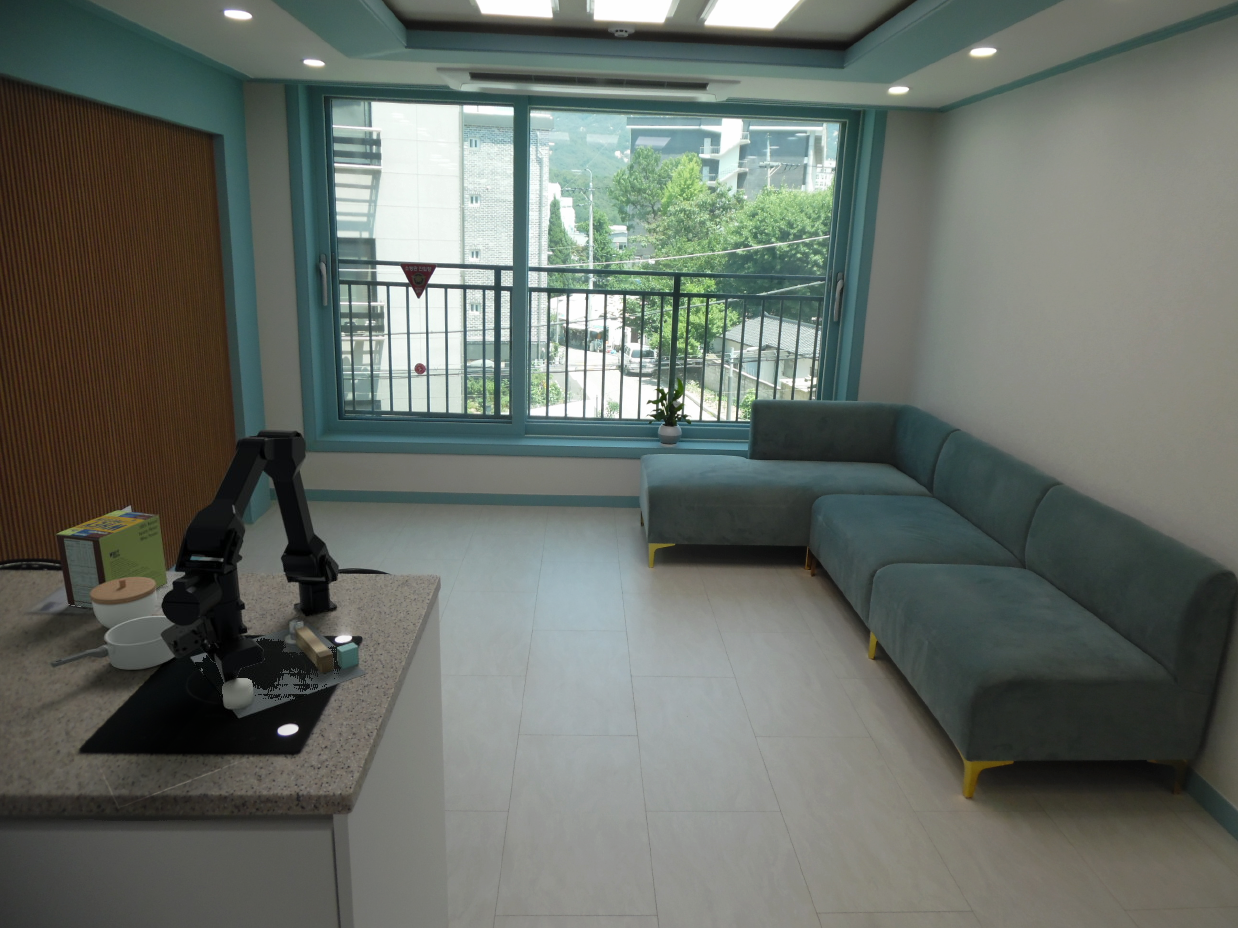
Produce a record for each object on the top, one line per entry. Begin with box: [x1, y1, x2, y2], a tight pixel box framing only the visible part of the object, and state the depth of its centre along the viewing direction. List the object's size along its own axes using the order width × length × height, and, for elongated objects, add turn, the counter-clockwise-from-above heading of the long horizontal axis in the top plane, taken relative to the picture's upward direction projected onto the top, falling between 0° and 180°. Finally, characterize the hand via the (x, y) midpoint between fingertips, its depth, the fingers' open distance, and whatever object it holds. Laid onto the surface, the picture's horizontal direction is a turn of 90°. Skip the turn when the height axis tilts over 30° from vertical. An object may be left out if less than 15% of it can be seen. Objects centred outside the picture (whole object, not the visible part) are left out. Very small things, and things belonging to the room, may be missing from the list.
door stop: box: [222, 678, 254, 710], centre depth 130 cm, size 4×4×3 cm
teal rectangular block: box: [336, 641, 360, 669], centre depth 142 cm, size 2×3×4 cm, turn 132°
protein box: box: [55, 509, 168, 610], centre depth 167 cm, size 10×15×16 cm
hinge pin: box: [285, 618, 304, 644], centre depth 151 cm, size 4×4×4 cm
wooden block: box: [295, 626, 334, 673], centre depth 144 cm, size 13×2×3 cm, turn 39°
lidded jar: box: [90, 577, 158, 630], centre depth 154 cm, size 11×11×9 cm
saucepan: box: [50, 615, 175, 670], centre depth 139 cm, size 12×20×6 cm, turn 147°
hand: (229, 686), depth 132 cm, fingers closed
